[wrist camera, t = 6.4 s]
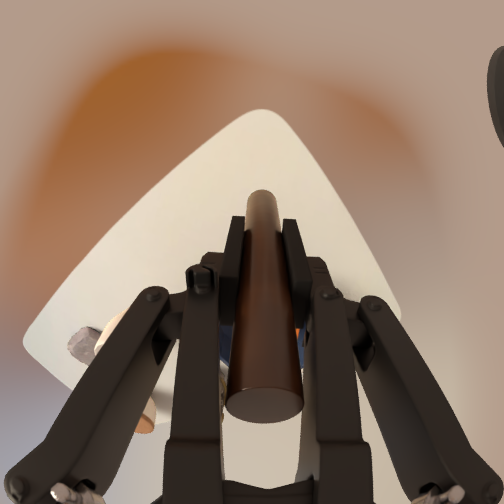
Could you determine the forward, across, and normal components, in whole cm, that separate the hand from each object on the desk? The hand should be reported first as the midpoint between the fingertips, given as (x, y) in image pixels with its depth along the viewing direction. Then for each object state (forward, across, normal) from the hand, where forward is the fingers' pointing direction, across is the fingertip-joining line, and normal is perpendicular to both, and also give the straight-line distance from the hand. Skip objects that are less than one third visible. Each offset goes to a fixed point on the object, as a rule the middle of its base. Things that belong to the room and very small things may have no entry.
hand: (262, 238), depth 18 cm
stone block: (+19, -32, -37) cm, 53 cm away
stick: (+6, 0, 0) cm, 6 cm away
